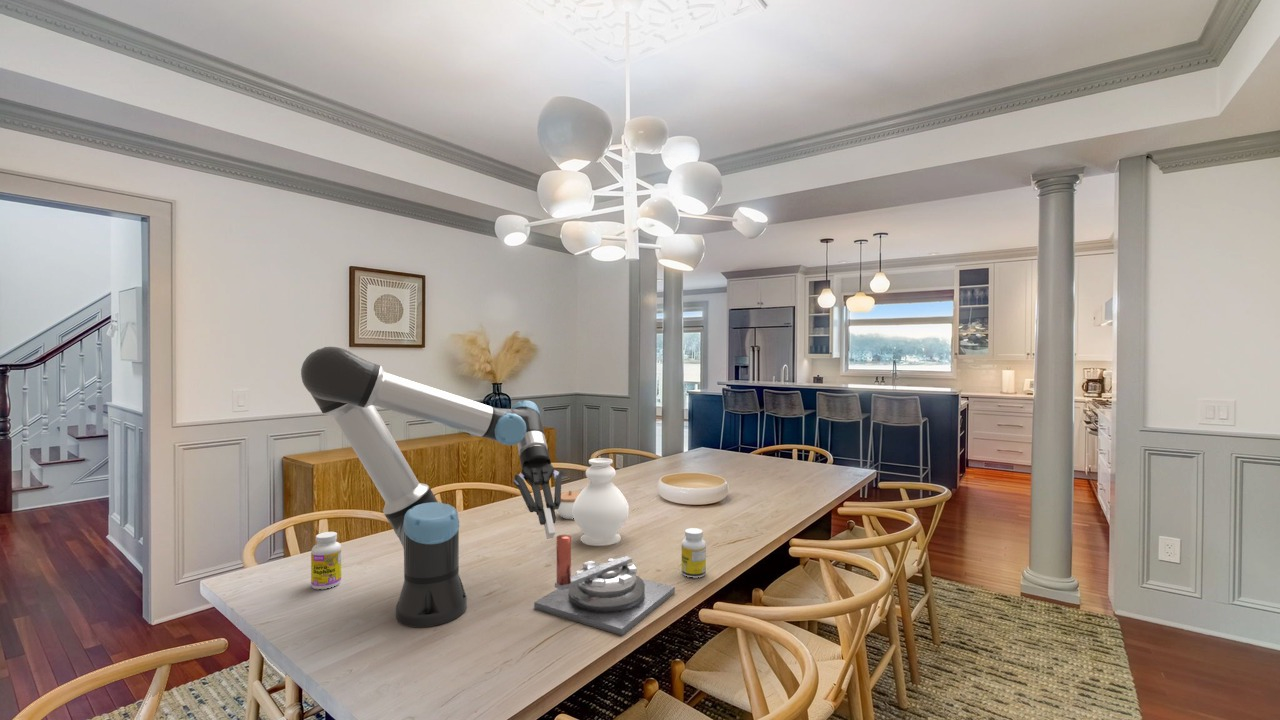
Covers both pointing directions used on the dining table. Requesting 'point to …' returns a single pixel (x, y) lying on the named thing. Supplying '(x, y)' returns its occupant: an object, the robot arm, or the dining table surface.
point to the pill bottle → (693, 553)
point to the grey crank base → (606, 605)
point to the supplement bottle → (326, 561)
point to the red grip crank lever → (594, 573)
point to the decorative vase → (600, 505)
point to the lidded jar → (567, 504)
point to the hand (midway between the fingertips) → (551, 535)
